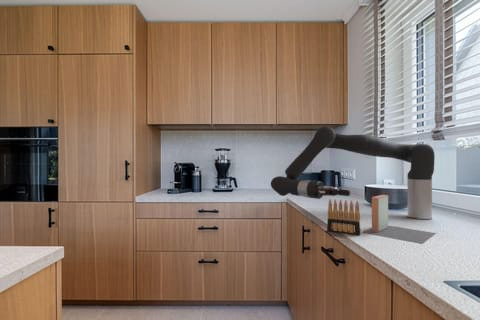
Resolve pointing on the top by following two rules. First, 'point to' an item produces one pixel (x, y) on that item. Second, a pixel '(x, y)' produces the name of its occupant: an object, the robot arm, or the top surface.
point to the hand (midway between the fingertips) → (349, 193)
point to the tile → (379, 213)
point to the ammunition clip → (343, 218)
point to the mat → (403, 234)
